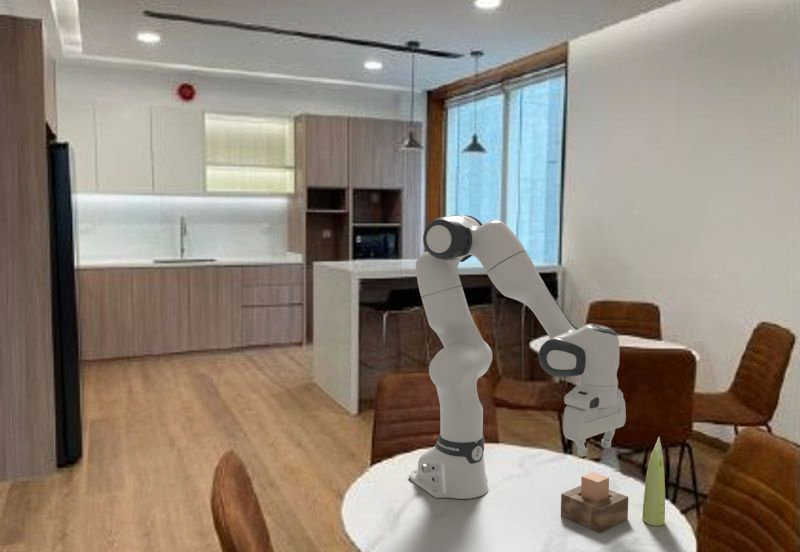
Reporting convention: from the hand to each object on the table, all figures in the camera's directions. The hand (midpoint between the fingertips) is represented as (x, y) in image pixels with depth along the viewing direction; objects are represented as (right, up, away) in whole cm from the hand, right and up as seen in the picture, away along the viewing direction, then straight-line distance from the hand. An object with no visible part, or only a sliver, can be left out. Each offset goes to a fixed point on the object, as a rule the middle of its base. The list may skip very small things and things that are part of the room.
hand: (594, 451), depth 155 cm
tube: (+14, -17, -1) cm, 22 cm away
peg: (0, -15, +1) cm, 15 cm away
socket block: (0, -16, +1) cm, 16 cm away
